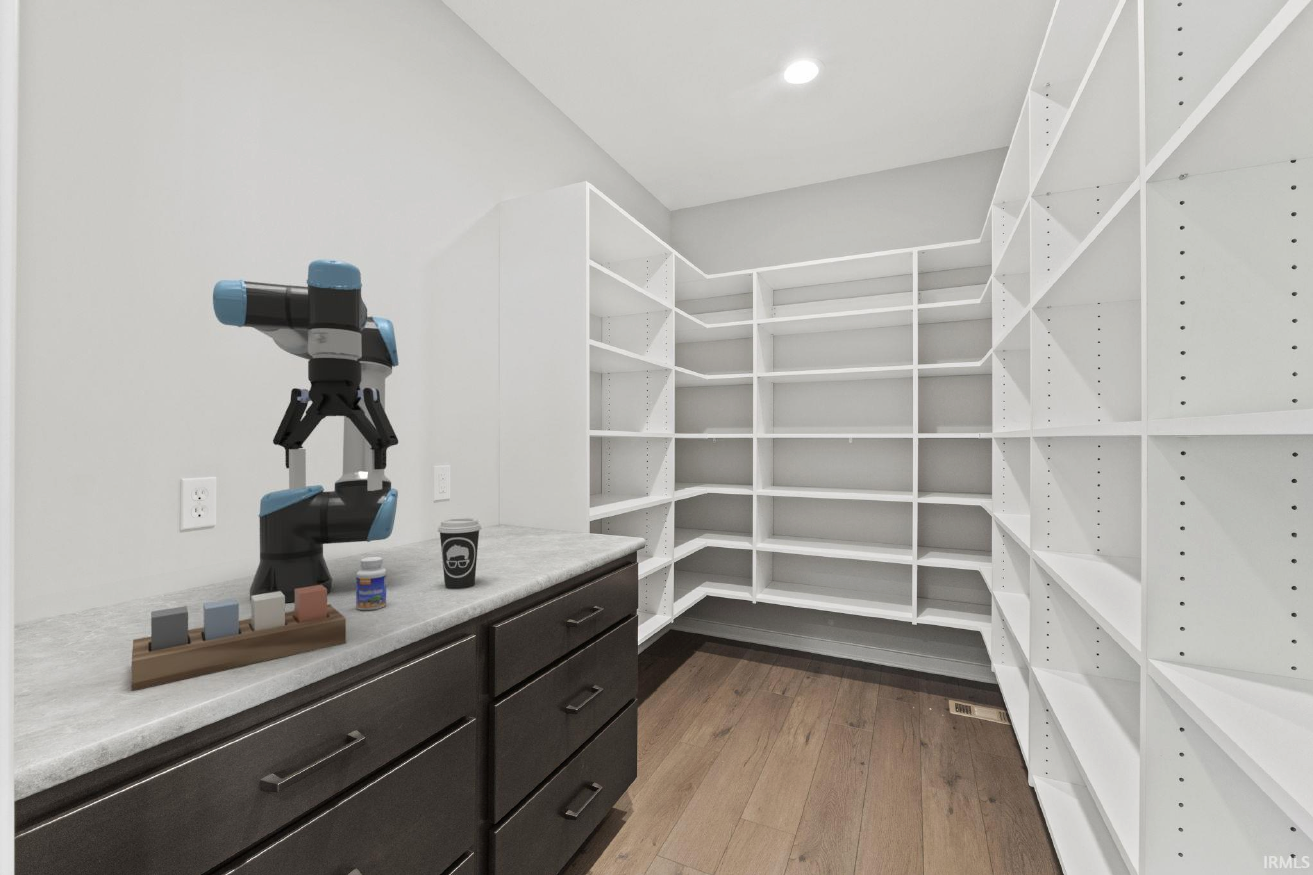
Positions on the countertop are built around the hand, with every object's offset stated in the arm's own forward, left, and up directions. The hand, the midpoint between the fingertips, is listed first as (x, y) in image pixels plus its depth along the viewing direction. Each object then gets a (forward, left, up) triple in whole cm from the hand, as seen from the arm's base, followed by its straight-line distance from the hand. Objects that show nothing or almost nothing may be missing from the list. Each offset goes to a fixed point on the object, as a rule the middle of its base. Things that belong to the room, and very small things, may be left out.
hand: (335, 489), depth 91 cm
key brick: (-7, -2, -22) cm, 23 cm away
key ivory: (-7, -8, -22) cm, 25 cm away
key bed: (-7, -11, -26) cm, 29 cm away
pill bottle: (-20, +11, -26) cm, 34 cm away
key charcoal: (-7, -20, -22) cm, 31 cm away
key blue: (-7, -14, -22) cm, 27 cm away
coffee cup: (-24, +31, -26) cm, 47 cm away
